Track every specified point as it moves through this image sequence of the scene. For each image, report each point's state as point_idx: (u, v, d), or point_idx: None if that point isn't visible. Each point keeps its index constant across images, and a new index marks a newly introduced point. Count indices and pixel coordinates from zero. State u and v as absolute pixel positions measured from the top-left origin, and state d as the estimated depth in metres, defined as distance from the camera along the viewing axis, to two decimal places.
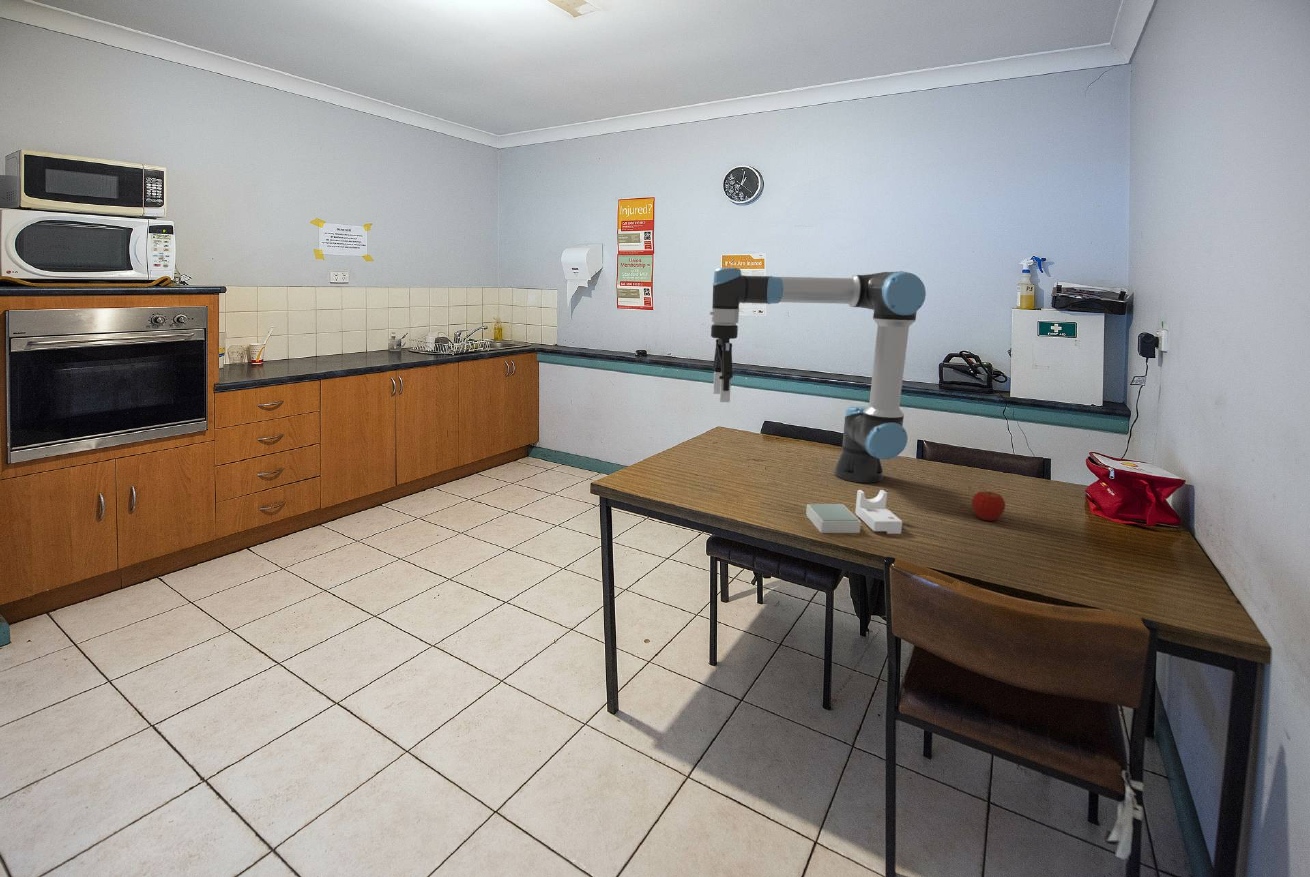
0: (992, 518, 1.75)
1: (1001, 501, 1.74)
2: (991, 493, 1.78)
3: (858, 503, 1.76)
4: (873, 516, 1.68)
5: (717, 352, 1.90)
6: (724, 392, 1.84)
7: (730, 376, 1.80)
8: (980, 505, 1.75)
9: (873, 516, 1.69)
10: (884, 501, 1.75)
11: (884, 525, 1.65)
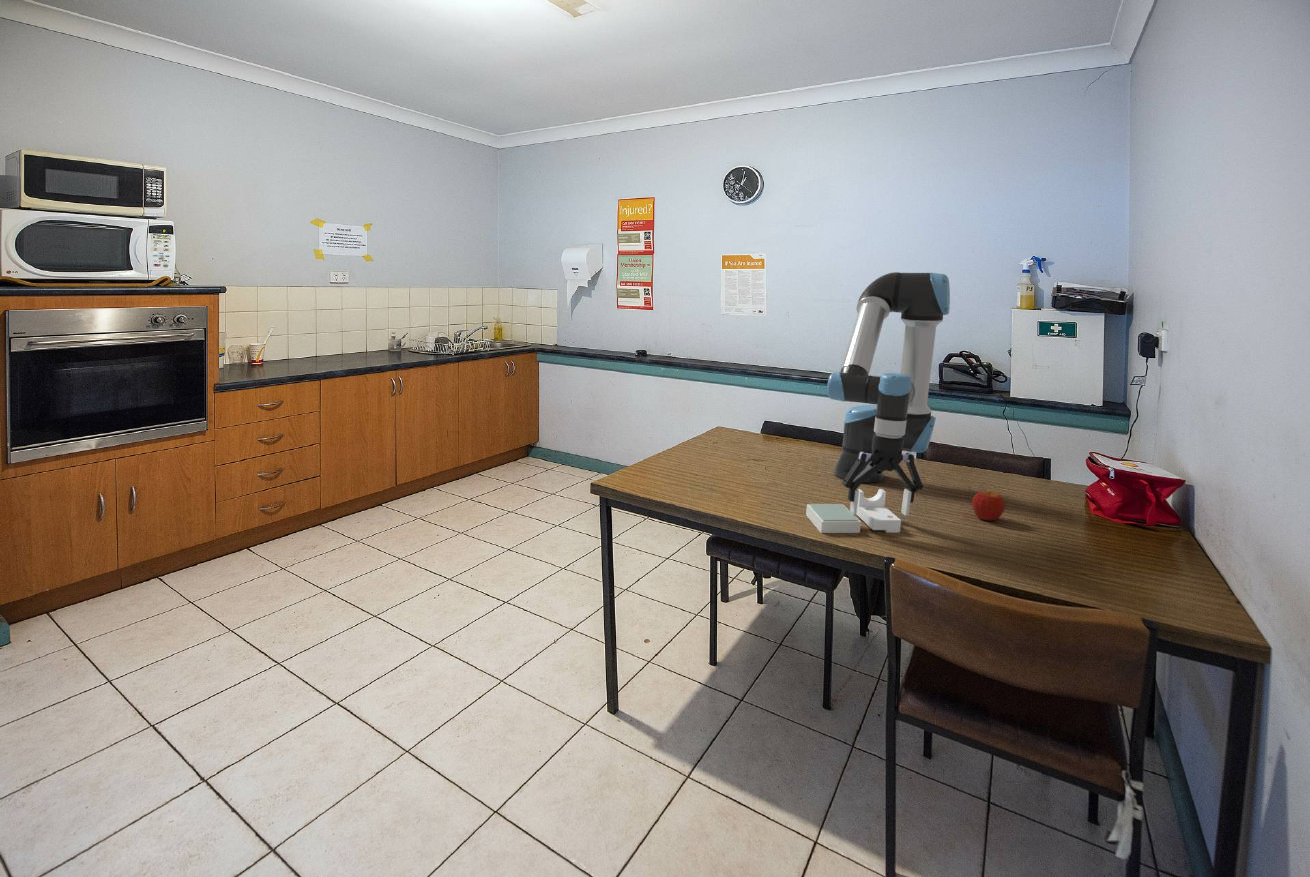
0: (992, 518, 1.75)
1: (1001, 501, 1.74)
2: (991, 493, 1.78)
3: None
4: (872, 515, 1.69)
5: None
6: (852, 502, 1.70)
7: (844, 485, 1.68)
8: (980, 505, 1.75)
9: (872, 515, 1.69)
10: (883, 500, 1.76)
11: (883, 523, 1.66)
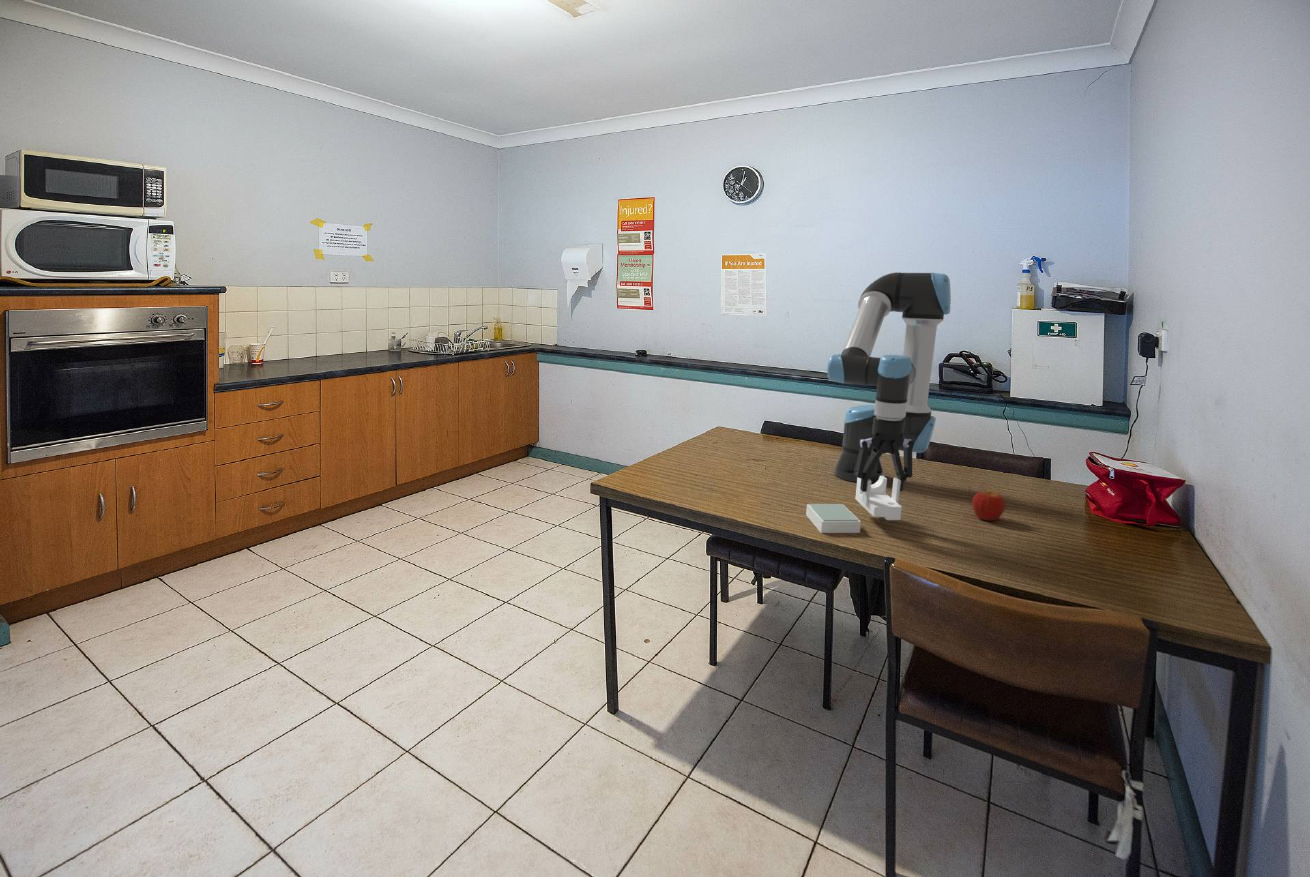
0: (992, 518, 1.75)
1: (1001, 501, 1.74)
2: (991, 493, 1.78)
3: (858, 488, 1.77)
4: (873, 502, 1.69)
5: None
6: (864, 492, 1.71)
7: (857, 476, 1.68)
8: (980, 505, 1.75)
9: (873, 502, 1.70)
10: (884, 487, 1.76)
11: (884, 510, 1.66)
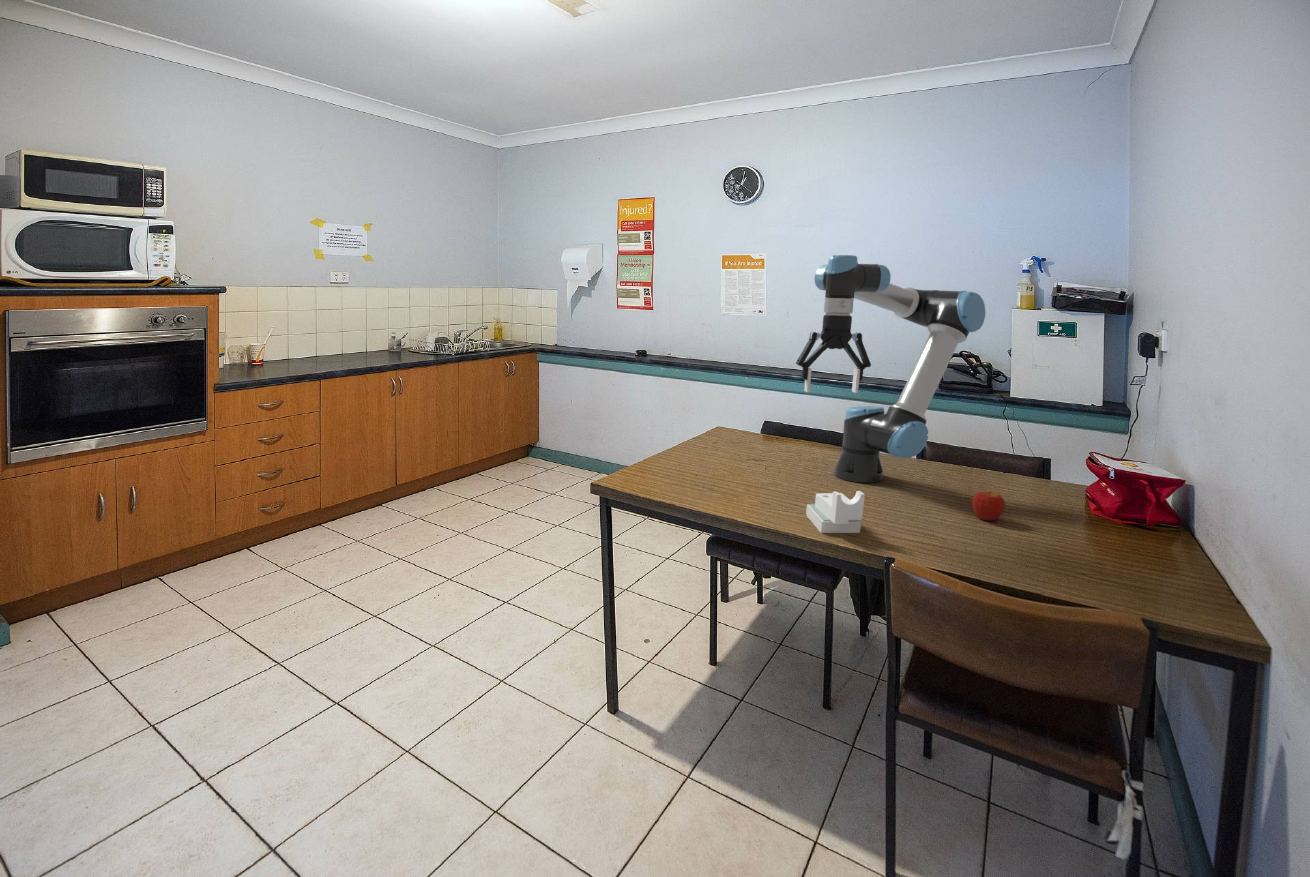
0: (992, 518, 1.75)
1: (1001, 501, 1.74)
2: (991, 493, 1.78)
3: None
4: (842, 497, 1.72)
5: (829, 345, 1.78)
6: None
7: None
8: (980, 505, 1.75)
9: (843, 497, 1.71)
10: None
11: None
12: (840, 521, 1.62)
